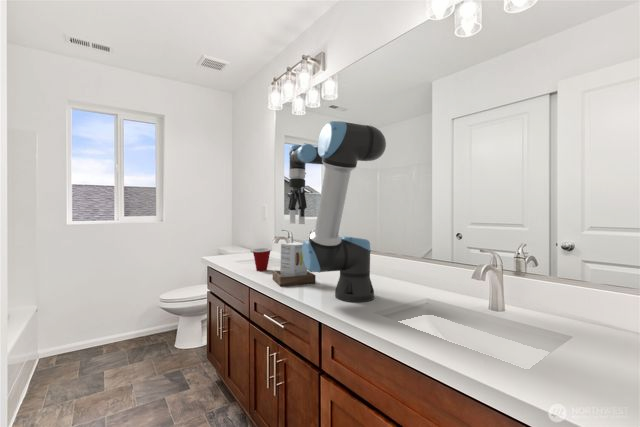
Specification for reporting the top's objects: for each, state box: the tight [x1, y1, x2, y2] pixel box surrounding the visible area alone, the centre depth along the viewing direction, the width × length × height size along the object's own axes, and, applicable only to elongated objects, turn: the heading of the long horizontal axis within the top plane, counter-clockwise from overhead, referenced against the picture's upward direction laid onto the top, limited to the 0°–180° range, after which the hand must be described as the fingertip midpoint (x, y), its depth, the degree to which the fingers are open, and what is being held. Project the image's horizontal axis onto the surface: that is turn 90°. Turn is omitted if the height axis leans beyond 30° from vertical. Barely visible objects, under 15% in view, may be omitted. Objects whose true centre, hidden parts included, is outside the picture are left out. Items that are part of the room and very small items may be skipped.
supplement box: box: [279, 242, 308, 277], centre depth 145 cm, size 10×9×17 cm
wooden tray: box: [272, 270, 316, 288], centre depth 144 cm, size 15×16×4 cm
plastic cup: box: [251, 247, 272, 272], centre depth 172 cm, size 11×11×12 cm
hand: (296, 223), depth 144 cm, fingers open, 13 cm apart
